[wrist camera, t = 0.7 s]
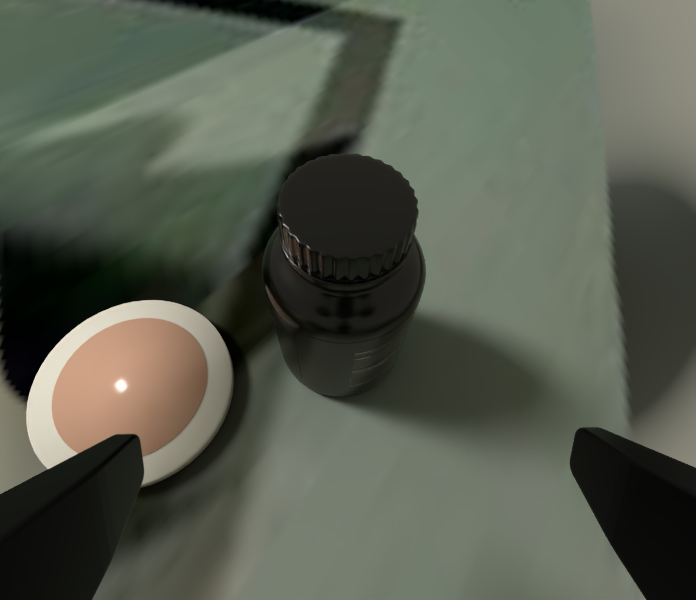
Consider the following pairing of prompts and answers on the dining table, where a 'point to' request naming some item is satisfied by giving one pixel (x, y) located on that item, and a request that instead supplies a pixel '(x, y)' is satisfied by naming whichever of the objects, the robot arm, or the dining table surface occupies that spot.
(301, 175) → the supplement bottle
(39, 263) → the dining table surface
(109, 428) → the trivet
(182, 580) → the dining table surface
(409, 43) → the dining table surface
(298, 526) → the dining table surface
